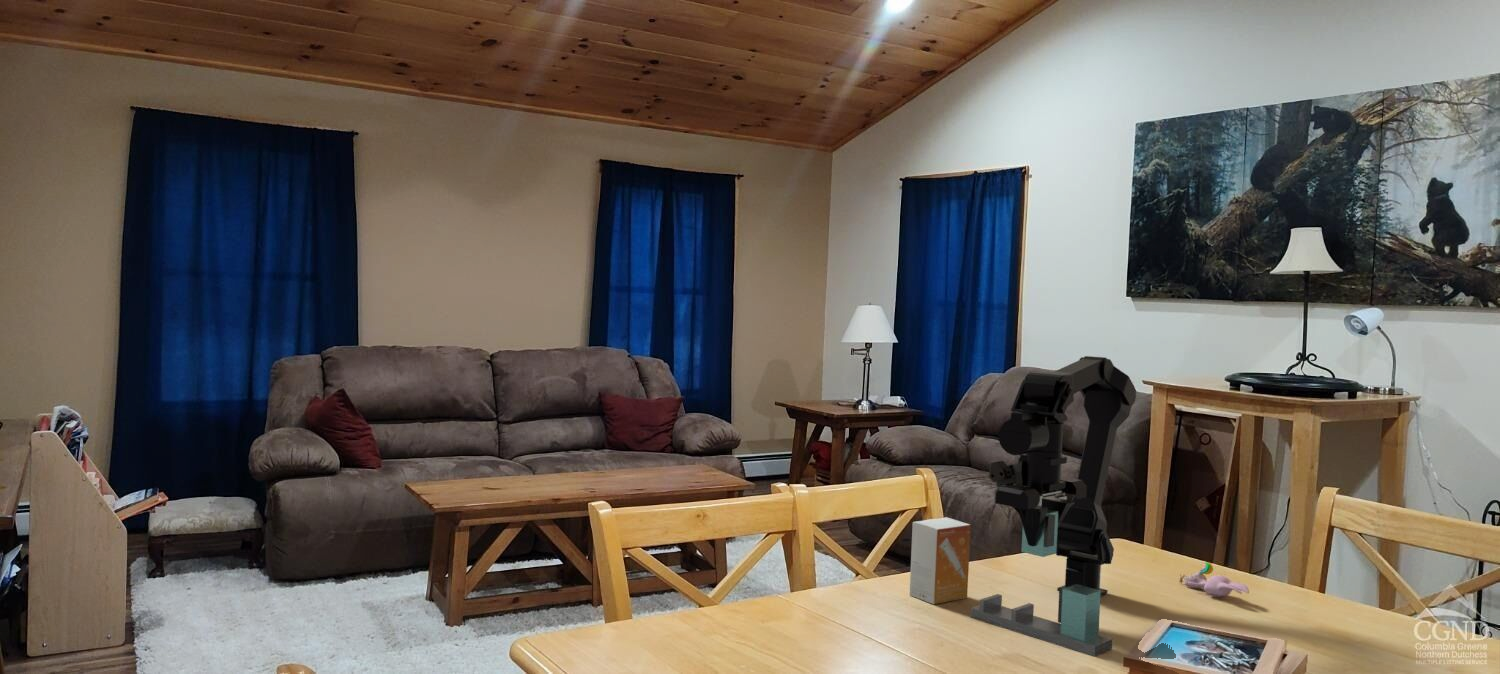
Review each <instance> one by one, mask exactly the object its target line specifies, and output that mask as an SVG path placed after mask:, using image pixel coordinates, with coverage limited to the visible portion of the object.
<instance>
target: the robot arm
mask: <svg viewBox="0 0 1500 674" xmlns="http://www.w3.org/2000/svg"><path fill="white" fill-rule="evenodd" d="M1078 392H1080V394H1081V395H1082V397H1083V409H1084V411H1085V413H1086V415H1087V418H1088V420H1089V421H1088V427H1087V432H1086V437H1085V442H1084V446H1083V451H1082V455H1081V460H1080V465H1079V469H1078V474H1077V478H1073V477H1065V476H1062V465H1064V464H1067V463H1068V462H1067V461H1068V457H1067V456H1063V440H1064V439H1063V436H1064V435H1063V434H1064V422H1067V421H1068V416H1067V414H1066V410H1067V409H1068V406H1070V405H1071V404H1072V403H1073V402H1074V395H1075V394H1077V393H1078ZM1136 397H1137V390H1136V387H1135V386H1134V383H1133V381H1132V380H1131V378H1130V376H1129V375H1128V374H1126V373H1125V372H1123V371H1122V370H1120V369H1119V368H1117V367H1116V366H1115V365H1114V364H1113V362H1112V360H1111V359H1109V358H1107V357H1106V356H1105V357H1104V356H1091V355H1090V356H1089V355H1086V356H1083V357H1082V356H1081V357H1080V358H1079V359H1078V360H1077V361H1074V362H1072V363H1070V364H1068V365H1065V366H1064V367H1061V368H1059V369H1056V370H1055V371H1030V372H1028V373H1027V374H1026V376H1025V377H1024V379H1023V380H1022V382H1021V384H1020V386H1019V388H1018V391H1017V393H1016V396H1015V399H1014V401H1013V403H1012V407H1011V409H1010V413H1011V414H1010V419H1008V420H1006V421H1005V422H1003V424H1002V425H1001V426H1000V428H999V431H998V442H999V445H1000V447H1001V448H1002V450H1004V451H1005V452H1006V453H1007V454H1009V455H1012V456H1018V459H1017V460H1018V462H1017V463H1013V464H1006V462H1005V461H1004V460H1000V461H995V462H991V463H990V465H989V471H988V472H989V473H988V474H989V475H988V478H989V480H990V481H992V482H993V483H995V486H996V488H997V489H995V490H994V497H993V498H994V500H993V502H994V504H998V505H1000V506H1001V505H1002V506H1006V507H1009V508H1013V509H1014V510H1015V512H1017V514H1018V516H1019V518H1020V521H1021V523H1022V529H1023V528H1024V531H1025V535H1026V539H1027V542H1028V545H1029V546H1035V545H1036V543H1037V540H1038V538H1039V534H1040V531H1041V528H1042V525H1043V522H1044V519H1045V516H1046V513H1047V510H1048V509H1050V510H1054V511H1058V529H1057V549H1056V554H1055V555H1056V556H1058V557H1064V558H1066V559H1065V560H1066V562H1065V565H1066V566H1065V575H1064V576H1065V578H1064V584H1063V585H1062V586H1059V587H1057V588H1056V590H1057V591H1058V592H1059V590H1060V589H1063V588H1066V587H1070V586H1073V585H1076V584H1078V585H1082V586H1085V587H1089V588H1093V589H1097V590H1101V594H1100V597H1101V596H1103V595H1106V594H1108V593H1109V591H1108V590H1107V589H1105V588H1101V573H1102V571H1101V569H1102V566H1103V565H1110V564H1112V561H1113V557H1114V551H1115V548H1114V546H1113V544H1112V541H1111V539H1110V537H1109V535H1108V533H1107V528H1108V522H1107V520H1106V519H1107V518H1106V517H1105V513H1104V511H1103V509H1102V502H1103V497H1104V492H1105V488H1106V484H1107V478H1108V474H1109V469H1110V463H1111V459H1112V454H1113V449H1114V444H1115V439H1116V434H1117V431H1118V428H1119V427H1120V426H1121V425H1122V424H1123V423H1124V422H1125V421H1126V420H1128V418H1129V417H1130V413H1131V410H1132V407H1133V405H1134V404H1135V401H1136V399H1137V398H1136ZM1068 495H1071V496H1073V497H1072V499H1071V500H1068Z"/></svg>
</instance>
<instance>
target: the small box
mask: <svg viewBox="0 0 1500 674" xmlns="http://www.w3.org/2000/svg"><path fill="white" fill-rule="evenodd" d="M911 530H912V533H911V535H912V536H911V550H910V551H911V554H910V575H909V576H910V577H909V596H911V597H914V598H917V599H918V600H921V601H924V602H927V603H930V604H932V605H936V604H941V603H946V602H953V601H959V600H965V599H968V587H969V586H968V584H969V583H968V582H969V569H970V568H969V565H970V564H969V563H970V549H971V548H970V546H971V545H970V544H971V530H972V529H971V524H970V523H967V522H962V521H961V520H957V519H953V518H950V517H947V516H945V517H941V518H931V519H924V520H918V521H913V522H912V529H911Z"/></svg>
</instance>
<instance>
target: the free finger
mask: <svg viewBox="0 0 1500 674" xmlns="http://www.w3.org/2000/svg"><path fill="white" fill-rule="evenodd" d="M1057 529H1058V511H1054V510H1050V509H1048V510H1047V513H1046V516H1045V519H1044V522H1043V525H1042V528H1041V531H1040V534H1039V538H1038V540H1037V543H1036V545H1035V546H1029V545H1028V542H1027V539H1026V535H1025V531H1024V528H1023V527H1022V533H1021V534H1022V535H1021V536H1022V537H1021V553H1025V554H1029V555H1033V556H1037V557H1042V558H1044V557H1049V556H1052V555H1056V549H1057Z"/></svg>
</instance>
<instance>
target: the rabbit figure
mask: <svg viewBox="0 0 1500 674" xmlns="http://www.w3.org/2000/svg"><path fill="white" fill-rule="evenodd" d="M1204 564H1205V567H1203V568H1201V569H1200V570H1199V572H1197V573H1191V574H1190V575H1189V576H1187V575H1185V574H1183V575H1182V574H1180V578H1179V582H1178V583H1179V584H1180V585H1182V583H1184V584H1185V585H1186V587H1187V588H1189V589H1195V590H1201V589H1202V590H1203V591H1204V592H1205V593H1206V594H1208V595H1211V596H1212V597H1214V598H1217V599H1218V598H1220V597H1225V596H1226V597H1227V596H1229V595H1230V594H1231V592H1232V591H1234V592H1235V593H1237V594H1240V595H1242V594H1243V592H1244V593H1246V594H1250V589H1249V588H1248V586H1247V585H1246V584H1243V583H1241V582H1234V581H1232V580H1230V579H1229V578H1228V577H1226V576H1224V575H1220V574H1217V575H1213V576H1211V577H1209V579H1207V576H1206V575H1210V574H1211V573H1212V572H1213V570H1214V567H1213V565H1212V564H1211V563H1209V561H1207V562H1206V561H1205V562H1204ZM1183 579H1184V581H1183ZM1241 591H1242V592H1241Z"/></svg>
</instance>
